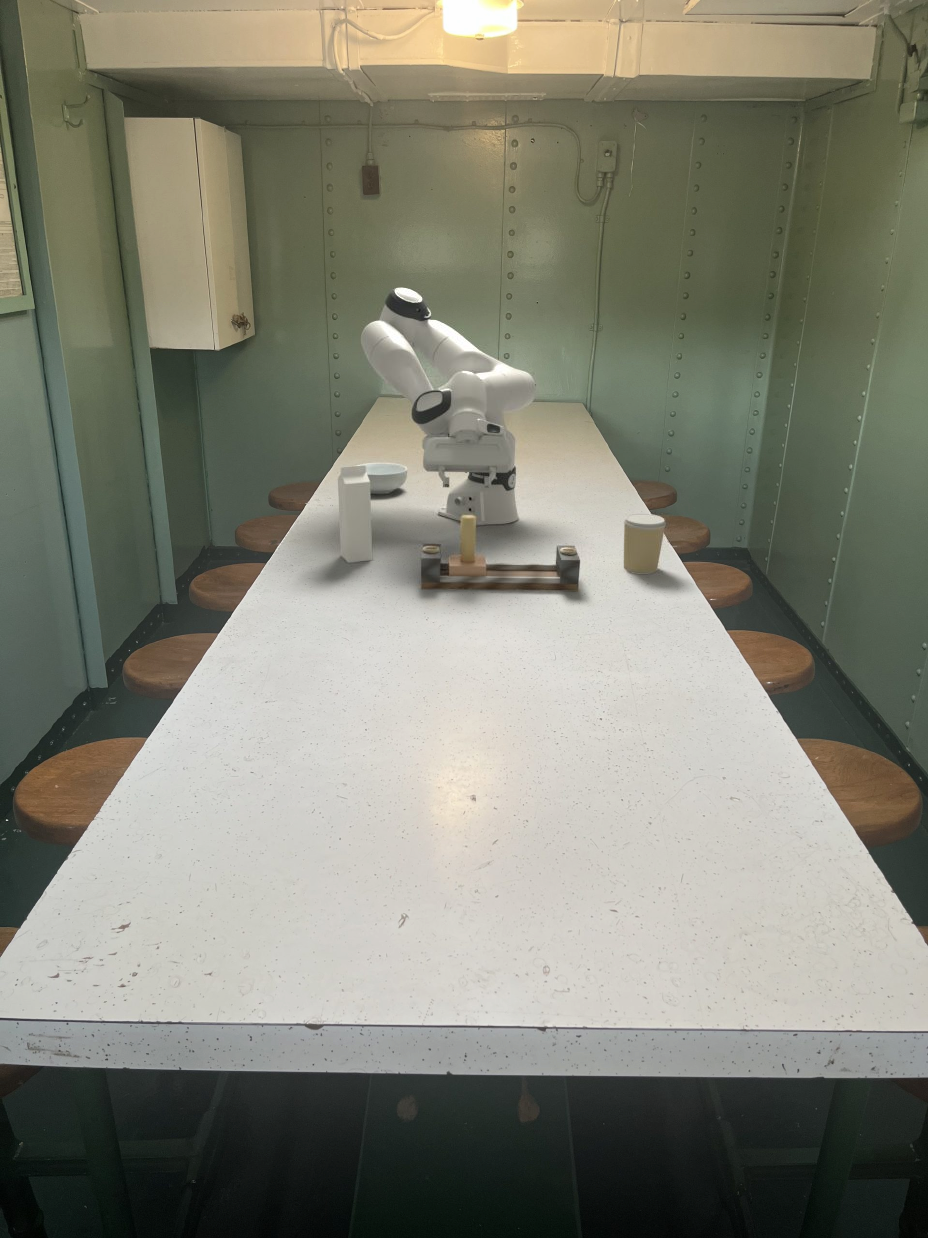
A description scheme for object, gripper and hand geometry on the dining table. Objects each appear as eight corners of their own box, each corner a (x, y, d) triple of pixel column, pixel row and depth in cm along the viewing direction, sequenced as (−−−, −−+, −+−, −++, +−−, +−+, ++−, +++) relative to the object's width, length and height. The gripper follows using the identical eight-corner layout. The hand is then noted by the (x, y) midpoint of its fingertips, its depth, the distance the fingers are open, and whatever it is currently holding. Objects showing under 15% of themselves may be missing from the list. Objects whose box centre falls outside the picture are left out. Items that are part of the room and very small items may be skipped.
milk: (372, 560, 207) (370, 468, 198) (347, 563, 205) (344, 470, 196) (364, 552, 212) (362, 462, 203) (340, 555, 210) (336, 464, 201)
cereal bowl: (411, 485, 273) (411, 462, 270) (402, 499, 258) (402, 475, 255) (357, 483, 274) (356, 460, 272) (345, 496, 259) (345, 473, 256)
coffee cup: (663, 564, 207) (668, 515, 202) (657, 577, 199) (663, 526, 194) (623, 560, 210) (627, 511, 205) (616, 572, 201) (621, 521, 197)
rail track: (421, 588, 190) (421, 554, 187) (423, 573, 199) (422, 540, 196) (578, 590, 190) (580, 556, 187) (572, 574, 199) (574, 542, 196)
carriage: (449, 579, 191) (449, 521, 186) (449, 568, 197) (449, 512, 192) (485, 579, 191) (487, 521, 186) (485, 568, 197) (486, 512, 192)
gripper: (422, 425, 201) (420, 478, 195) (511, 427, 201) (512, 479, 195) (423, 441, 206) (421, 492, 201) (510, 442, 206) (510, 494, 201)
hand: (466, 486), depth 198 cm, fingers open, 8 cm apart
